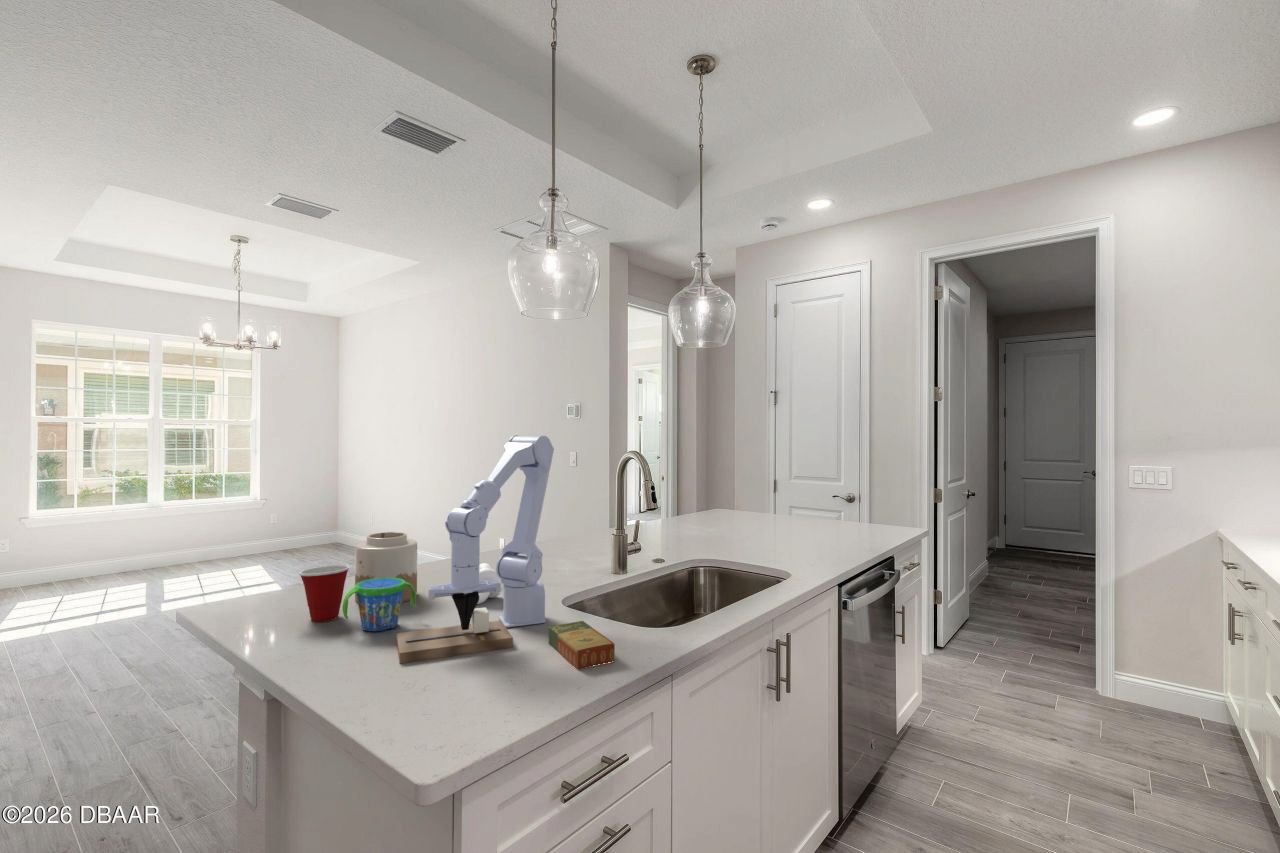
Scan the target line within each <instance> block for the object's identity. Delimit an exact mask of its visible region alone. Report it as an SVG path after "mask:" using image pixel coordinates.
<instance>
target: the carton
mask: <svg viewBox="0 0 1280 853" xmlns="http://www.w3.org/2000/svg"><path fill="white" fill-rule="evenodd" d="M547 638H548V644H549V645H550V647H552V648H553V649H554V651H555V652H557V653H558V654H559V655H560V656H562V658H563V659H564V660H566V662H568V664H570V665H571V666H572V667H573V666H574V667H575V668H576V669H579V670H583V669H582V668H584V669H586V668H585V667H589V666H593V665H598V664H603V663H608V662H612V661H614V662H615V655H616V654H615V651H616V650H615V649H616V648H615V642H613V641H612V640H610V639H609V638H608V637H606V636H605V635H603V634H602V633H601V632H599V631H597V630H596V629H595V628H593V627H592V626H591V625H590V624H588V623H587V622H585V621H584V620H579V621H574V622H567V623H563V624H562V623H561V624H557V625H556V624H555V625H552V626H551V625H550V626H549V627H548V637H547ZM574 667H573V668H574ZM575 668H574V669H575ZM589 668H590V667H589ZM576 669H575V670H576Z"/></svg>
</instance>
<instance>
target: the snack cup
mask: <svg viewBox="0 0 1280 853" xmlns="http://www.w3.org/2000/svg"><path fill="white" fill-rule="evenodd" d="M407 585H408V586H409V587H410V588H411V590H412V596H411V600H410V604H409V605H410V607H411V608H414V607H416V604H417V603H416V602H417V594H416V593H415V590H414V588H413V586H412V585H411V584H409V583H407V582H405V581H404V580H403V579H399V578H375V579H369V580H364V581H361V582H359V583H357V584H356V586H355V585H354V587H353V588H351V589H350V590H349V591H348V592H347V593H346V594H345V596H344V598H343V602H342V614H343V616H344V619H346V620H348V619H349V616H348V609H349V608H348V607H349V599H350V598H351V597H352V596H353V595H355V593H357V597H358V611H359V616H360V623H361V628H362V630H365V631H367V632H382V631H386V630H390V629H395V626H397V625H398V622H399V618H400V612H401V606H402V605H401V604H402V602H401V601H402V595H403V592H404V589H405V586H407Z"/></svg>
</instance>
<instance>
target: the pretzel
mask: <svg viewBox="0 0 1280 853" xmlns="http://www.w3.org/2000/svg"><path fill="white" fill-rule="evenodd" d="M479 581H499V582H500V583H501V579H500V578H499V577H498V575H497V571H496V569H493V568H492V566H491V564H488V563H486V562H483V563H479ZM503 591H504V584H503V583H501V591H500V592H495V591H494V592H484V593H478V595H479V601H478V603H477V605H480V604H483V603H484V602H485V601H487V599H494V598H497V597H498V596H500V595H501V594H502V592H503Z"/></svg>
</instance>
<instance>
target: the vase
mask: <svg viewBox="0 0 1280 853" xmlns="http://www.w3.org/2000/svg"><path fill="white" fill-rule="evenodd" d="M354 550H355V555H354V557H355V558H354V561H355V562H354V569H355V570H354V587H355V586H356V584H357V583H359V582H361V581H364V580H369V579H375V578H399V579H403V580H404V581H405V582H407V583H409V584H411V585H412V586H413V588H414V590H415V593H416V595H417V594H418V542H417V541H416V540H414V539H412V538H408V535H407V533H405V532H400V531H386V532H385V531H383V532H375V533H371V534H368V535H367V536H366V541H362V542H359V543H357V544H356V546H355V549H354ZM411 596H412V590H411V588H410V587H409V586H408V585H407V586H405V589H404V592H403V595H402V601H401V603H404V602H409V601H411ZM354 599H355V602H356V603H358V597H357V593H354ZM358 604H359V603H358Z"/></svg>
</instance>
